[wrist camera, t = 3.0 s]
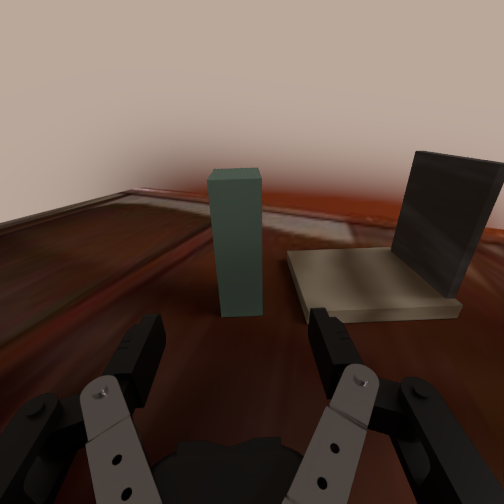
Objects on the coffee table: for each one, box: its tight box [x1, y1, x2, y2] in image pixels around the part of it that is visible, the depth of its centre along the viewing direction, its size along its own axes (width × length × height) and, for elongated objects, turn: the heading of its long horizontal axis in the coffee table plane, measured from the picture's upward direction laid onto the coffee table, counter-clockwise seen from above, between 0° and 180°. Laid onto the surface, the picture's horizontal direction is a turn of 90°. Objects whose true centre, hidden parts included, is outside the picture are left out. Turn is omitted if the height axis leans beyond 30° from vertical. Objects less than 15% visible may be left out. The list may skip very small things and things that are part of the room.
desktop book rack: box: [287, 151, 504, 324], centre depth 25 cm, size 14×12×14 cm
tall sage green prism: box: [207, 168, 263, 317], centre depth 24 cm, size 4×5×13 cm
